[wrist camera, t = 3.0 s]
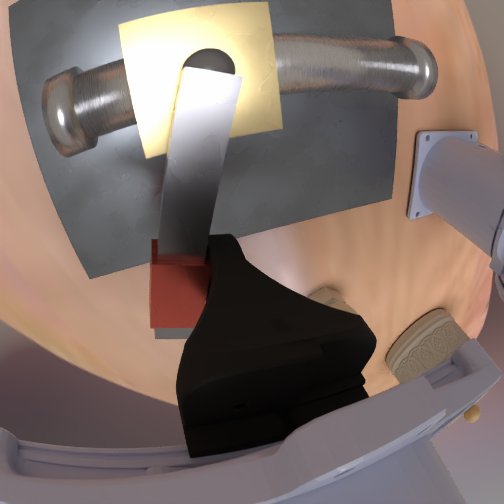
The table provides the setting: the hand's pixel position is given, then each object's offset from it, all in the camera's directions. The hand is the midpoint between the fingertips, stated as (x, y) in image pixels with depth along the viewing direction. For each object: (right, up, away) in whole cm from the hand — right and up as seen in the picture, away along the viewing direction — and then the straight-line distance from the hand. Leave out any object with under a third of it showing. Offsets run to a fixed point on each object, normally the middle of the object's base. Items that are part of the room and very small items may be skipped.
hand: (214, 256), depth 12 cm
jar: (+27, -13, +28) cm, 41 cm away
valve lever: (-1, +2, -1) cm, 3 cm away
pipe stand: (0, +9, +2) cm, 9 cm away
